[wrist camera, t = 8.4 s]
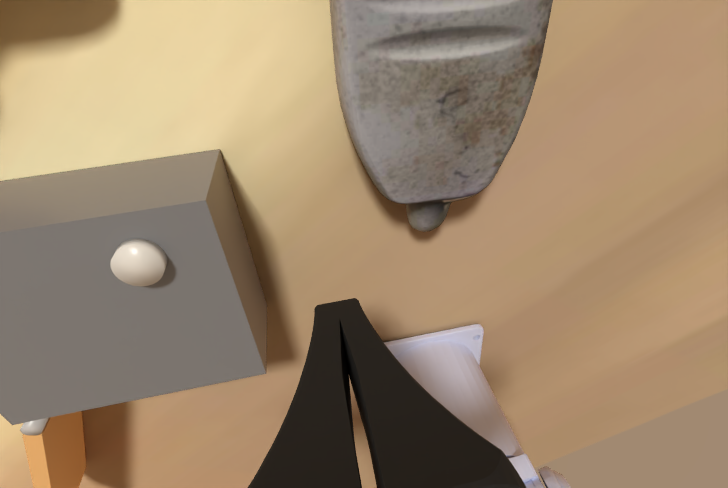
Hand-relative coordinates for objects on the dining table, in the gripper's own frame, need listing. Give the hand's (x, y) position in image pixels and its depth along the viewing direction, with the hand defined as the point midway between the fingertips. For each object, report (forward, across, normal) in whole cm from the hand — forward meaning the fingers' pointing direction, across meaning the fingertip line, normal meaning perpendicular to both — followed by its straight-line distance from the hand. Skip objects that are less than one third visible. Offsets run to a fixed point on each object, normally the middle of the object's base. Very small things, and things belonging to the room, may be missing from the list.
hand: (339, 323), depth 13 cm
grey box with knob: (+9, +10, +2) cm, 14 cm away
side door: (+9, +18, +13) cm, 24 cm away
